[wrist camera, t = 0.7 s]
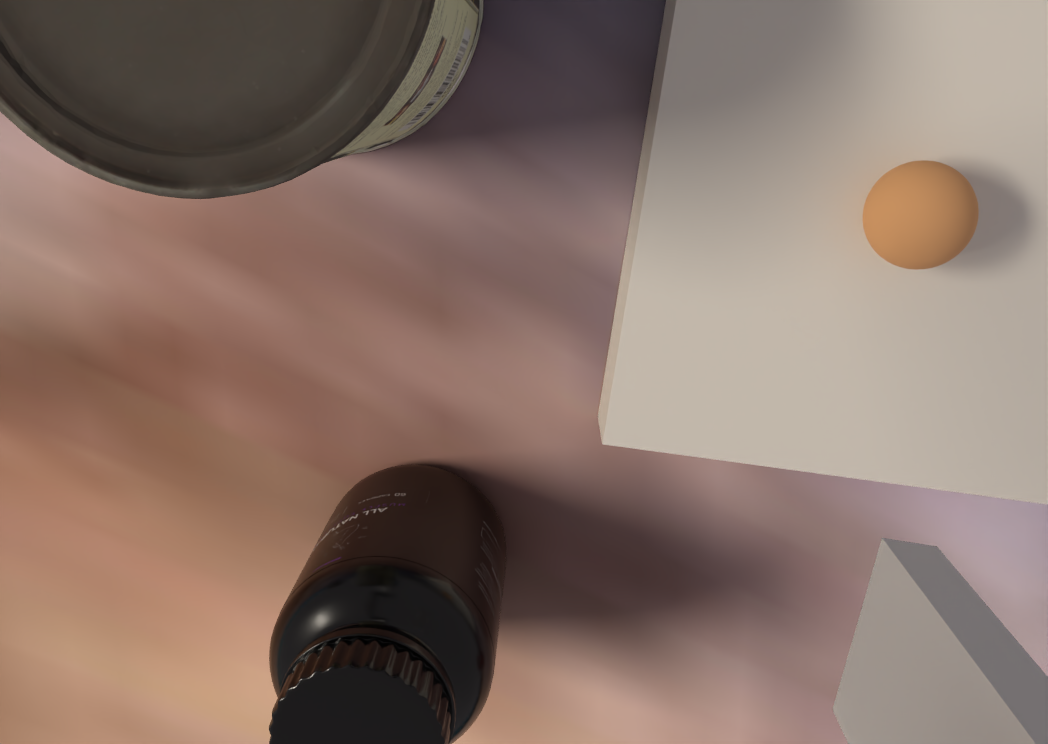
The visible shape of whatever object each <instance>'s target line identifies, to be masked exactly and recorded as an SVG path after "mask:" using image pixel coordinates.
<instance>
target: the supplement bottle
mask: <svg viewBox="0 0 1048 744" xmlns="http://www.w3.org/2000/svg"><path fill="white" fill-rule="evenodd" d="M505 569H506V541H505V535H504V530H503V527H502V524H501V522H500V519H499V517H498V515H497V513H496V511H495V510H494V508H493V506H492V505H491V504H490V502H489V501H488V500H487V498H486V497H485V496H484V495H483V494H482V493H481V492H480V491H479V490H478V489H477V488H476V487H475V486H473V485H472V484H471V483H469V482H468V481H466V480H465V479H463V478H462V477H460V476H458V475H456V474H454V473H451V472H449V471H446V470H443V469H440V468H437V467H432V466H425V465H401V466H395V467H391V468H387V469H384V470H381V471H378V472H376V473H374V474H372V475H370V476H368V477H366V478H365V479H363V480H361V481H360V482H359V483H357V484H356V485H355V486H354V487H353V488H352V489H351V490H350V491H348V493H347V494H346V495H345V496H344V497H343V499H342V500H341V501H340V503H339V504H338V506H337V507H336V509H335V511H334V512H333V514H332V516H331V517H330V519H329V521H328V523H327V525H326V527H325V529H324V531H323V532H322V534H321V536H320V538H319V540H318V542H317V544H316V546H315V548H314V549H313V551H312V553H311V555H310V557H309V559H308V561H307V563H306V565H305V566H304V568H303V570H302V572H301V574H300V576H299V578H298V580H297V582H296V583H295V585H294V587H293V589H292V591H291V593H290V595H289V597H288V599H287V600H286V602H285V604H284V606H283V608H282V610H281V612H280V614H279V617H278V619H277V622H276V624H275V627H274V630H273V633H272V637H271V643H270V653H269V663H270V672H271V678H272V682H273V686H274V689H275V692H276V694H277V697H278V699H277V701H276V703H275V706H274V708H273V711H272V720H271V722H270V725H269V731H270V734H271V737H270V741H269V744H452V743H454V742H455V741H456V740H457V739H458V738H460V737H461V736H462V735H463V734H464V733H465V732H466V731H467V730H468V729H469V728H470V727H471V725H472V724H473V723H474V722H475V720H476V719H477V717H478V716H479V714H480V712H481V711H482V709H483V707H484V705H485V703H486V701H487V698H488V695H489V692H490V688H491V683H492V679H493V674H494V666H495V658H496V649H497V640H498V631H499V622H500V613H501V605H502V596H503V587H504V578H505Z"/></svg>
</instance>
